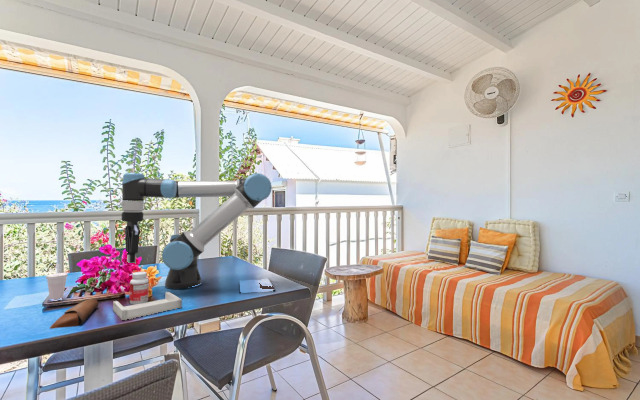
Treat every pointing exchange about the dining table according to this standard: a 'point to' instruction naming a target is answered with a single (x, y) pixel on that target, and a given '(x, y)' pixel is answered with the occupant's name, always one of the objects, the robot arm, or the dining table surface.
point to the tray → (147, 307)
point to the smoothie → (56, 284)
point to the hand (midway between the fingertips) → (131, 270)
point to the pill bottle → (139, 288)
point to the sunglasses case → (76, 314)
